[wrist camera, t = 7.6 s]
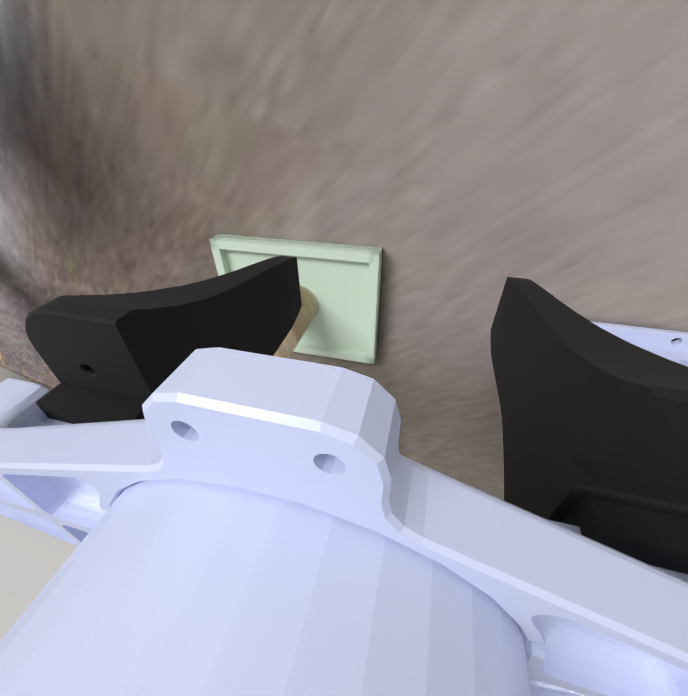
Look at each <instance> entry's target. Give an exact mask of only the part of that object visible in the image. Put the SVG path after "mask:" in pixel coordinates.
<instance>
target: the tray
mask: <svg viewBox="0 0 688 696" xmlns="http://www.w3.org/2000/svg"><path fill="white" fill-rule="evenodd" d="M209 242H210V245H211V249H212V253H213V256H214V260H215V264H216V268H217V271H218V275H219V276H220V275H223V274H226V273H229V272H232V271H235V270H238V269H241V268H244V267H247V266H249V265H252V264H255V263H257V262H260V261H263V260H266V259H269V258H273V257H277V256H290V257H297V264H298V274H299V283H300V286H303V287H305V288H307V289H309V290H310V291H311V292H312V293H313V294H314V295H315V297H316V299H317V301H318V311H317V313H316V315H315V316H314V318H313V320H312V321H311V323H310V325H309V326H308V328H307V330H306V331H305V333H304V335H303V336H302V338H301V339H300V341H299V343H298V344H297V346H296V348H295V349H294V351H293V352H300V353H306V354H312V355H318V356H325V357H331V358H337V359H344V360H350V361H356V362H362V363H369V364H374V361H375V357H376V350H377V333H378V315H379V298H380V281H381V263H382V247H370V246H358V245H346V244H334V243H322V242H310V241H298V240H286V239H274V238H262V237H250V236H238V235H226V234H217V235H216V236H214V237H213V238H211V239H209Z"/></svg>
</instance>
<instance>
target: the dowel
mask: <svg viewBox="0 0 688 696" xmlns="http://www.w3.org/2000/svg"><path fill="white" fill-rule="evenodd" d="M300 292H301V301H302V307H301V309H300V312H299V314H298V317H297V319H296V321H295V323H294V325H293V327H292V328H291V330H290V332H289V333H288V335H287V336H286V338H285V339H284V341H283V342H282V344H281V345H280V347H279V348H278V350H277V351H276V353H275V354H274V356H275V357H281V358H288V359H289V357H290V356H291V354H292V353H293V351H294V349H295V348H296V346H297V344H298V343H299V341H300V339H301V338H302V336H303V335H304V333H305V331H306V330H307V328H308V326H309V325H310V323H311V321H312V320H313V318H314V316H315V315H316V313H317V311H318V301H317V299H316V297H315V295H314V294H313V293H312V292H311V291H310V290H309V289H307V288H305V287H303V286H300Z"/></svg>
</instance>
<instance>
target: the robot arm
mask: <svg viewBox="0 0 688 696" xmlns="http://www.w3.org/2000/svg"><path fill="white" fill-rule="evenodd" d="M301 307H302V301H301V292H300V283H299V274H298V264H297V257H290V256H277V257H273V258H269V259H266V260H263V261H260V262H257V263H255V264H252V265H249V266H247V267H244V268H241V269H238V270H235V271H232V272H229V273H226V274H223V275H220V276H217V277H214V278H211V279H208V280H204V281H200V282H196V283H192V284H188V285H183V286H178V287H172V288H166V289H160V290H154V291H146V292H137V293H126V294H111V295H78V296H61V297H58V298H56V299H54V300H52V301H50V302H48V303H46V304H45V305H43V306H41V307H39V308H37V309H35V310H34V311H32V312H30V313H29V314H28V316H27V317H26V332H27V335H28V337H29V340H30V341H31V343H32V344H33V346H34V348H35V349H36V350H37V352H38V353H39V354H40V356H41V357H42V358H43V360H44V361H45V362H46V364H47V365H48V366H49V368H50V369H51V370H52V372H53V373H54V374H55V376H56V377H57V378H58V380H59V381H60V382H62V383H60V384H59V385H58V386H56V387H55V388H54V389H52V390H51V391H50V390H49V389H48V388H46V387H45V386H43V385H40V384H37V383H32V382H28V381H23V380H19V379H14V378H7V379H6V380H4V381H3V382H1V383H0V516H3V517H6V518H8V519H11V520H13V521H16V522H19V523H21V524H24V525H26V526H29V527H31V528H34V529H36V530H39V531H41V532H43V533H46V534H48V535H51V536H53V537H55V538H58V539H60V540H62V541H65V542H67V543H69V544H72V545H74V546H76V547H77V548H76V549H75V551H74V552H73V553H72V554H71V555H70V557H69V558H68V559H67V560H66V561H65V563H64V564H63V565H62V566H61V568H60V569H59V570H58V571H57V573H56V574H55V575H54V576H53V577H52V579H51V580H50V581H49V582H48V583H47V585H46V586H45V587H44V589H42V591H41V592H40V593H39V594H38V596H37V597H36V598H35V599H34V601H33V602H32V603H31V604H30V605H29V607H28V608H27V609H26V610H25V611H24V613H23V614H22V615H21V616H20V618H19V619H18V620H17V621H16V622H15V624H14V625H13V626H12V627H11V629H10V630H9V631H8V632H7V633H6V635H5V636H4V637H3V638H2V640H1V641H0V696H688V333H687V332H679V331H670V330H661V329H653V328H644V327H635V326H627V325H618V324H609V323H601V322H592V321H589V320H587V319H586V318H584V317H583V316H581V315H579V314H578V313H576V312H575V311H573V310H572V309H570V308H569V307H568V306H566V305H565V304H563V303H562V302H561V301H559V300H558V299H556V298H555V297H554V296H552V295H551V294H550V293H548V292H547V291H546V290H544V289H543V288H542V287H540V286H539V285H537V284H536V283H534V282H533V281H531V280H529V279H522V278H511V277H507V280H506V283H505V286H504V289H503V293H502V296H501V299H500V302H499V305H498V309H497V312H496V315H495V318H494V321H493V324H492V328H491V356H492V362H493V368H494V373H495V379H496V384H497V389H498V395H499V400H500V406H501V413H502V425H503V446H504V500H501V499H499V498H497V497H495V496H492V495H490V494H488V493H486V492H483V491H481V490H479V489H476V488H474V487H472V486H470V485H467V484H465V483H463V482H461V481H458V480H456V479H454V478H452V477H449V476H447V475H445V474H443V473H440V472H438V471H436V470H433V469H431V468H429V467H427V466H424V465H422V464H420V463H418V462H415V461H413V460H411V459H409V458H406V457H404V456H402V455H401V454H400V452H399V446H398V440H399V433H400V425H401V419H400V415H399V411H398V407H397V403H396V399H395V398H393V397H392V396H391V395H390V394H389V393H388V392H387V391H386V390H385V389H384V388H383V387H382V386H381V385H380V384H379V383H378V382H377V381H375V380H374V379H372V378H370V377H367V376H364V375H362V374H359V373H356V372H353V371H351V370H348V369H345V368H342V367H336V366H330V365H324V364H318V363H312V362H306V361H300V360H294V359H288V358H281V357H275V356H274V354H275V353H276V351H277V350H278V348H279V347H280V345H281V344H282V342H283V341H284V339H285V338H286V336H287V335H288V333H289V332H290V330H291V328H292V327H293V325H294V323H295V321H296V319H297V317H298V314H299V312H300V309H301ZM675 338H678V339H677V340H675V341H672V340H673V339H675Z"/></svg>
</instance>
